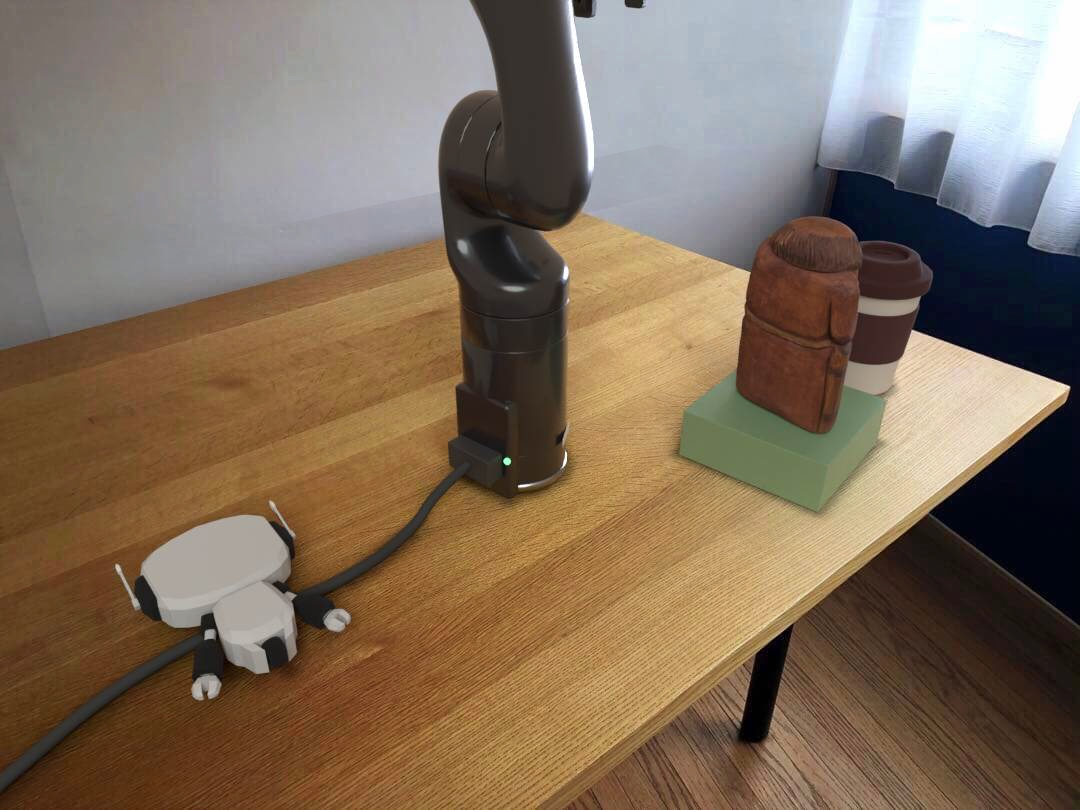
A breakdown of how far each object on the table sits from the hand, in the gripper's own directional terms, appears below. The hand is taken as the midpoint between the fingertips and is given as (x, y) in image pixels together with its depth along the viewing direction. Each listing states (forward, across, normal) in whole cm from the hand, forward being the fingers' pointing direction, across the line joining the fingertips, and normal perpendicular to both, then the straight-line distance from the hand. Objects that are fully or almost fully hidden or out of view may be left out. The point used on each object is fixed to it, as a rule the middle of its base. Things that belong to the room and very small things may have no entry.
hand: (610, 12), depth 82 cm
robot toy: (+36, +52, +5) cm, 64 cm away
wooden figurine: (+31, +6, +26) cm, 41 cm away
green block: (+36, +6, +26) cm, 45 cm away
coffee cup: (+36, -12, +27) cm, 47 cm away
